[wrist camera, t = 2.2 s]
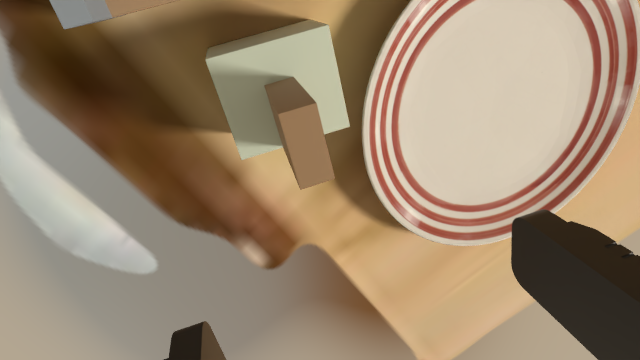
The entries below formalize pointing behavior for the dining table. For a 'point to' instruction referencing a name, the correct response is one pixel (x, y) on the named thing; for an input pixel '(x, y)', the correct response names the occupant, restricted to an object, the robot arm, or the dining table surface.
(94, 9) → the board
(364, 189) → the dining table surface
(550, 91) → the dinner plate
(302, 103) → the green and brown blocks
